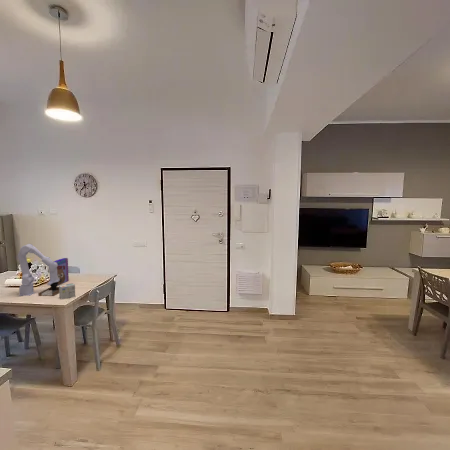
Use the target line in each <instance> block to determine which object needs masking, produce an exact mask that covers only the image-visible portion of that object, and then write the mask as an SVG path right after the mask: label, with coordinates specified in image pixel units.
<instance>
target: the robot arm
mask: <svg viewBox="0 0 450 450" xmlns="http://www.w3.org/2000/svg"><path fill="white" fill-rule="evenodd" d="M28 254H34V255H36V256H37V257H38V258H40V259H41V262H42V263H43V264H44V265H46V266H47V267H48V270H49V281H48V283H47V286H50V287H51V288H52V290H56V288H57V287H58V286H57V285H58V281H60V279H59V278H57V266H58V264H57V263H56V262H54V261H55V260H52V258H51V257H49V256H45V254H43V252H41V251H40V250H39V249H38V247H36V246H34V245H33V244H32V243H27V244H24V245H22V246H21V247H20V248H19V251H18V254H17V258H18V261H19V265H20V269H21V272H22V273H21V274H22V276H21V284H20V285H19V288H18V289H19V291H18V293H19V294H18V296H19V297H23V296H32V295H34V294H37V292H36V291H34V281H35V280H34V279H35V278H34V275H32V273H31V271H30V268H29V263H28V259H27V255H28Z"/></svg>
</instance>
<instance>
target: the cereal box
mask: <svg viewBox="0 0 450 450" xmlns="http://www.w3.org/2000/svg"><path fill="white" fill-rule="evenodd" d="M53 261H54V262H56V263H57V264H58V266H57V278H59V279H60V281H58V285H57V287H59V286H61V285H64V284H65V283H67V282H69V280H70V279H69V258H68V257H61V258H60V259H56V260H53Z"/></svg>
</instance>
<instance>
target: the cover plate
mask: <svg viewBox="0 0 450 450" xmlns="http://www.w3.org/2000/svg"><path fill="white" fill-rule="evenodd" d="M56 291H58V290H47V291H45V292H43V293H42V296H41V297H54V296H53V293H54V292H56Z"/></svg>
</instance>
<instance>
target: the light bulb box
mask: <svg viewBox="0 0 450 450" xmlns="http://www.w3.org/2000/svg"><path fill="white" fill-rule="evenodd" d="M58 287H59V294H58V295H59V296H58V297H59V298H60V299H61V300H65V299H66V300H67V299H71V298H74V297H76V284H75V283H72V282H71V283H66V284H61V285H59V286H58Z"/></svg>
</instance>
